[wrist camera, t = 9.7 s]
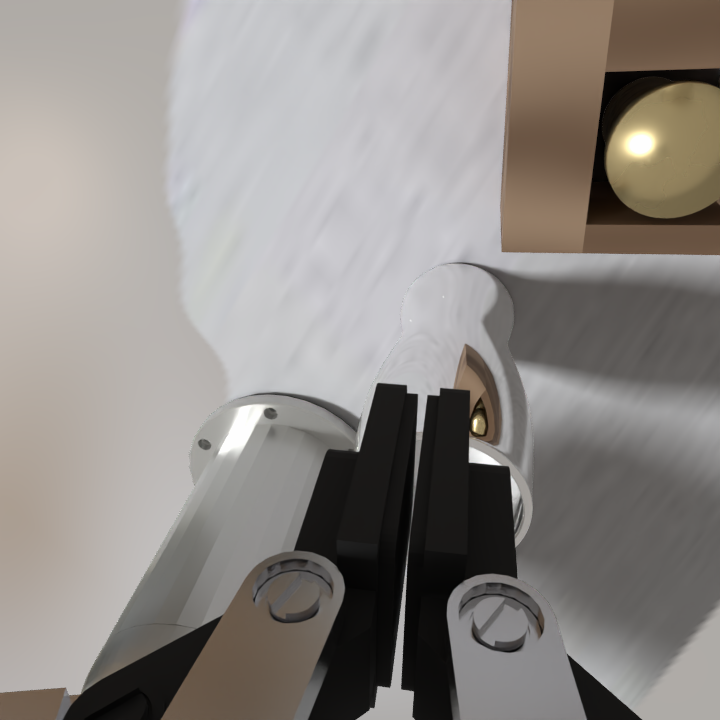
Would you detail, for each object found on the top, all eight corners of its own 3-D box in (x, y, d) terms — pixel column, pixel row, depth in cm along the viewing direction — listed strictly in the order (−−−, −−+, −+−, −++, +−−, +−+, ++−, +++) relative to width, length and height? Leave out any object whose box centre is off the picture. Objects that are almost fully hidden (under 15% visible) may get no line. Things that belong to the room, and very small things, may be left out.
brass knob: (692, 174, 30) (733, 218, 25) (581, 175, 31) (599, 218, 25) (715, 59, 27) (766, 80, 22) (594, 63, 28) (616, 85, 23)
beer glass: (549, 298, 34) (583, 495, 22) (473, 389, 38) (463, 602, 25) (437, 229, 33) (404, 391, 21) (370, 328, 37) (307, 518, 24)
